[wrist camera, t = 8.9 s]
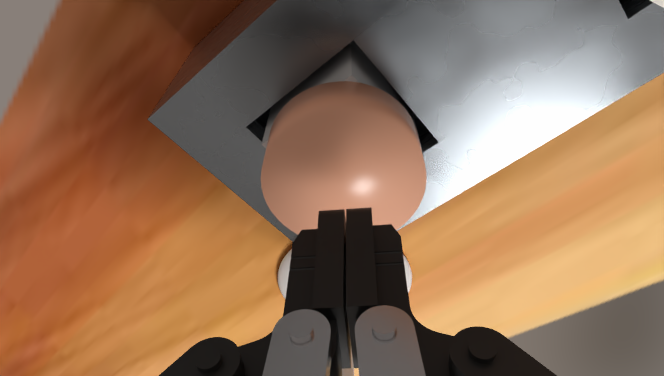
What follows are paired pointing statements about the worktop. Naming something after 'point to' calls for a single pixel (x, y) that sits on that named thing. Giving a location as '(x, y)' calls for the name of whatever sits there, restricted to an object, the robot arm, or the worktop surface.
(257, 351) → the robot arm
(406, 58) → the plunger panel
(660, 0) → the white ball knob
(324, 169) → the plunger
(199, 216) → the worktop surface
